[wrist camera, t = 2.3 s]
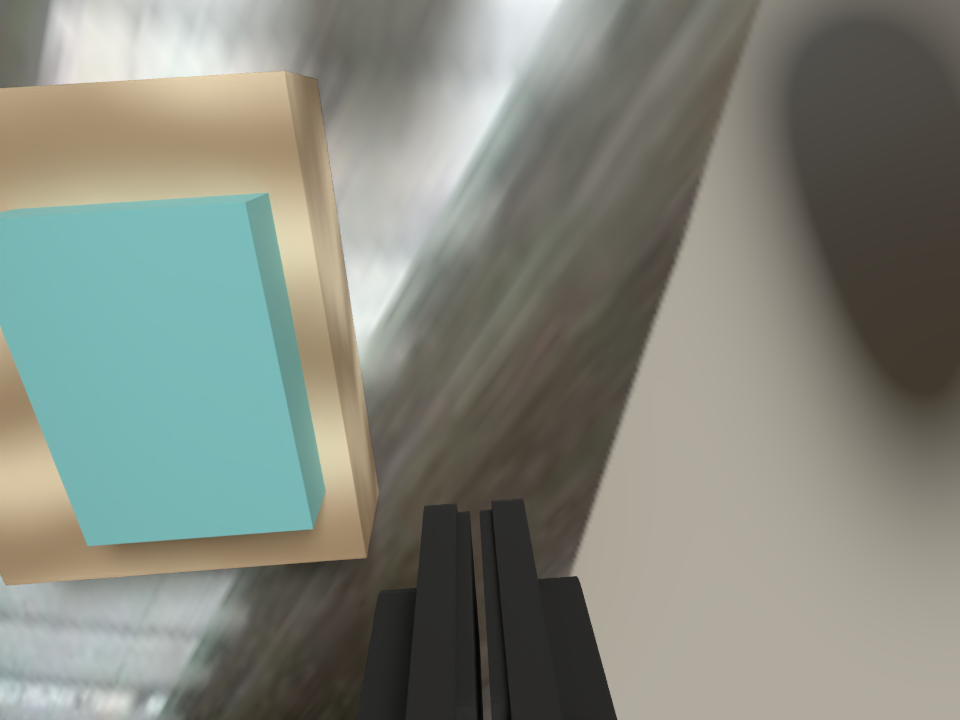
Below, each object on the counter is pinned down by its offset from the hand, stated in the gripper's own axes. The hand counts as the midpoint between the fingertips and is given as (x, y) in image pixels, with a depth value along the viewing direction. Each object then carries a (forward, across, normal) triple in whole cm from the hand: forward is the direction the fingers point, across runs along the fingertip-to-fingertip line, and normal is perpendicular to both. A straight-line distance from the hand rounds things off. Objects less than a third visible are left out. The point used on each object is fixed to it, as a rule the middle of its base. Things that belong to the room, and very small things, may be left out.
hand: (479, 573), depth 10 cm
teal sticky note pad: (+9, +9, -1) cm, 13 cm away
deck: (+13, +11, -1) cm, 17 cm away
